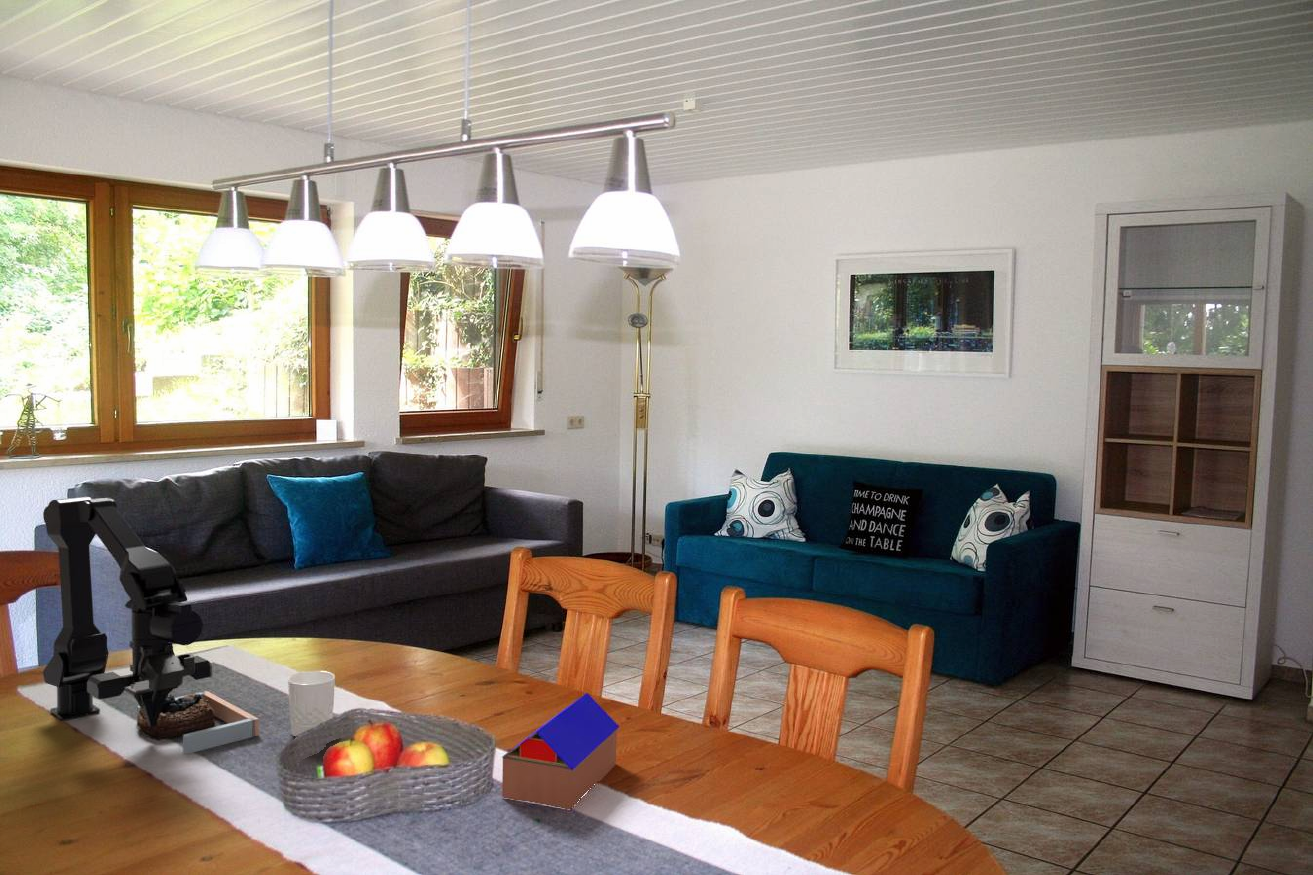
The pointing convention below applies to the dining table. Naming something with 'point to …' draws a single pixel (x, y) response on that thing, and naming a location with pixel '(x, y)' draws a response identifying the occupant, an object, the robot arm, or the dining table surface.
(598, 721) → the house
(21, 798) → the dining table surface
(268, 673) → the dining table surface
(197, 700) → the pastry
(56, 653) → the robot arm
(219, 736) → the corral
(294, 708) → the white cup
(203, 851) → the dining table surface
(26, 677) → the dining table surface
